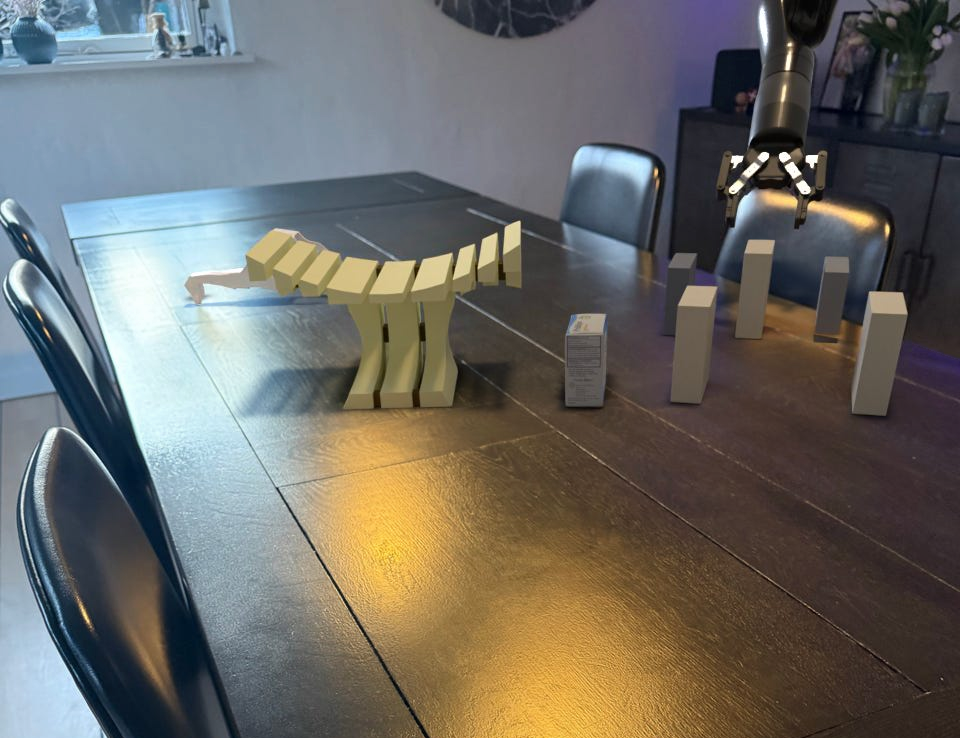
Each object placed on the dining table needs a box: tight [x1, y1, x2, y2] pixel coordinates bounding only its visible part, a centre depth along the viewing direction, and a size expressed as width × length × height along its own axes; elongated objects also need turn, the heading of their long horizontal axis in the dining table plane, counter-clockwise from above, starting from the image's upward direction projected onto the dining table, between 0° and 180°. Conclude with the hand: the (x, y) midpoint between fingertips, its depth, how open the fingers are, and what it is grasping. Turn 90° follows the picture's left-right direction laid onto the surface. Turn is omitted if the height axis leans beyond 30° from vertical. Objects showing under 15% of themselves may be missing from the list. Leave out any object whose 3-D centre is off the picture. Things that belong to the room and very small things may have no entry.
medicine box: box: [564, 313, 608, 408], centre depth 108 cm, size 8×4×9 cm, turn 171°
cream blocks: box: [670, 285, 909, 417], centre depth 105 cm, size 24×8×11 cm, turn 73°
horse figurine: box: [183, 227, 344, 306], centre depth 150 cm, size 5×16×25 cm
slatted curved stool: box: [245, 220, 523, 410], centre depth 112 cm, size 30×16×18 cm, turn 88°
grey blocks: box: [662, 252, 850, 344], centre depth 127 cm, size 23×8×9 cm, turn 73°
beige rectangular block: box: [734, 239, 776, 340], centre depth 126 cm, size 4×8×11 cm, turn 163°
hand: (764, 225), depth 126 cm, fingers open, 8 cm apart
